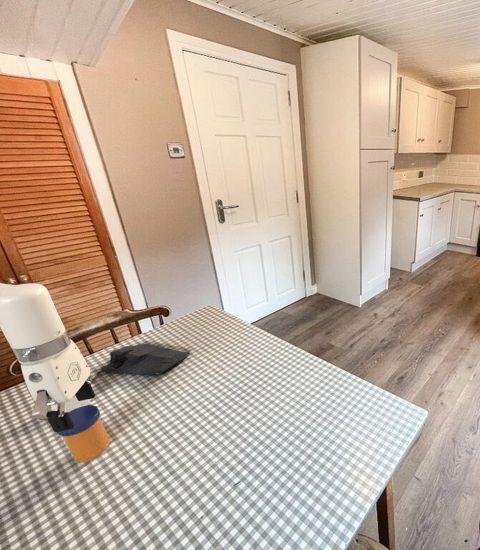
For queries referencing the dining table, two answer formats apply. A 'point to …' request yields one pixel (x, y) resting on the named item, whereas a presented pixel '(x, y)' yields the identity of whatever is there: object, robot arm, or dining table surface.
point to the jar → (88, 442)
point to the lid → (82, 419)
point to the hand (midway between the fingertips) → (76, 413)
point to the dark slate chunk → (143, 359)
